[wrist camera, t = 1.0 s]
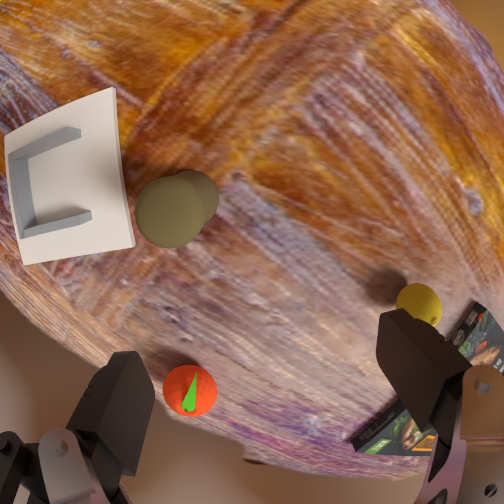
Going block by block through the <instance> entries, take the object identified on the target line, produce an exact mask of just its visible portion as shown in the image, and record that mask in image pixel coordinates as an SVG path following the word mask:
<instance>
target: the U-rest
mask: <svg viewBox="0 0 504 504" xmlns="http://www.w3.org/2000/svg"><path fill="white" fill-rule="evenodd" d="M4 144H5V163H6V175H7V184H8V192H9V199H10V206H11V212H12V217H13V223H14V228H15V232H16V237H17V241H18V245H19V249H20V253H21V257H22V261H23V264H24V265H28V264H34V263H40V262H45V261H51V260H57V259H63V258H69V257H75V256H81V255H87V254H93V253H100V252H106V251H112V250H119V249H125V248H132V247H134V246H135V245H136V244H135V239H134V235H133V230H132V225H131V219H130V214H129V208H128V203H127V196H126V190H125V184H124V177H123V169H122V161H121V153H120V144H119V133H118V121H117V106H116V89H115V88H113V87H111V88H108V89H105V90H102V91H99V92H96V93H93V94H91V95H88V96H86V97H83V98H80V99H78V100H75V101H73V102H71V103H68V104H66V105H64V106H61V107H59V108H57V109H55V110H53V111H50V112H48V113H46V114H44V115H42V116H40V117H38V118H36V119H34V120H32V121H30V122H28V123H27V124H25V125H23V126H21V127H19V128H18V129H16V130H14V131H12V132H11V133H9V134H7V135H6V136H4Z"/></svg>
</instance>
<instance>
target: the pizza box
mask: <svg viewBox="0 0 504 504" xmlns="http://www.w3.org/2000/svg"><path fill="white" fill-rule="evenodd" d="M449 342H450V343H451V344H452V345H453V346H454V347H455V348H456V349H457V350H458V351H459V352H460V353H461V354H462V355H463V356H464V357H465V358H466V359H467V360H468V361H469V362H470V363H471V364H472V365H473V366H476V365H483V364H484V365H490V366H492V367H495V368H496V369H498V370H499V371H500V372H501V373H503V372H504V332H503V330H502V329H501V327H500V326H499V324H498V323H497V322H496V320H495V319H494V318H493V316H492V315H491V314H490V312H489V311H488V310H487V309H486V308H485V307H484V306H482V305H481V304H479V303H478V302H476V303H475V305H474V306H473V308H472V309H471V311H470V312H469V314H468V315H467V317H466V318H465V320H464V321H463V323H462V324H461V326H460V327H459V328H458V330H457V331H456V333H455V334H454V335H453V337H452V338H451V339H450V341H449ZM436 434H437V432H436V430H435V429H434V428H432V429H430V430H428V431H426V432H424V433H421V432H420V430H419V429H418V427H417V425H416V424H415V422H414V420H413V419H412V417H411V415H410V414H409V412H408V411H407V409H406V407H405V406H404V404H403V403H402V401H401V399H400V398H399V399H398V400H397V401H396V402H395V403H394V404H393V405H392V406H391V407H390V408H389V409H388V410H387V411H386V412H385V413H384V414H382V415H381V416H380V417H379V418H378V419H377V420H376V421H375V422H374V423H372V424H371V425H370V426H369V427H368V428H367V429H366V430H364V431H363V432H362V433H361V434H360V435H358V436H357V437H356V438H355V439H353V440H352V441H351V442H352V444H353V447H354V449H355V452H359V453H369V454H381V455H397V456H431V452H432V447H433V443H434V438H435V436H436Z"/></svg>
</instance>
